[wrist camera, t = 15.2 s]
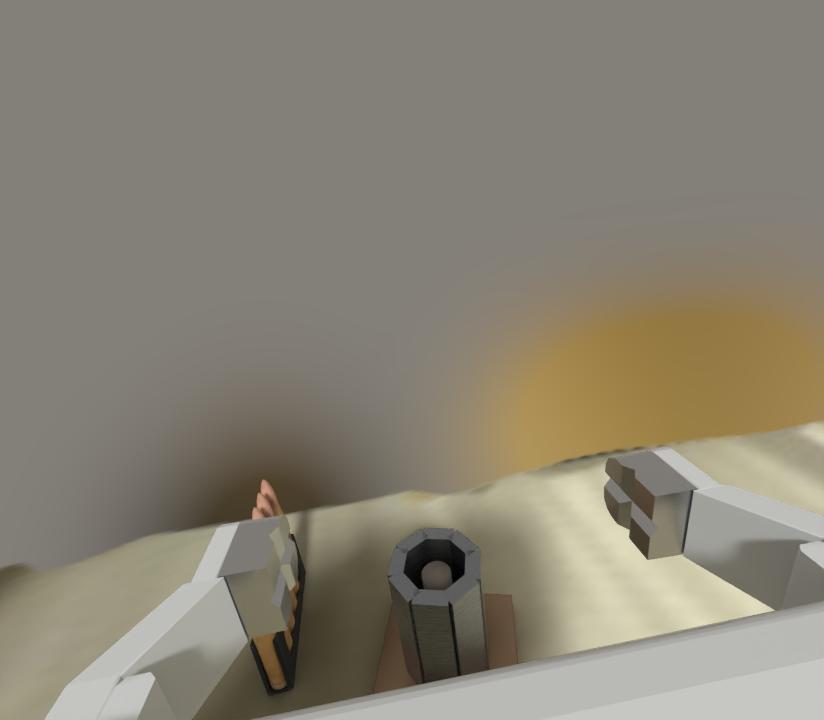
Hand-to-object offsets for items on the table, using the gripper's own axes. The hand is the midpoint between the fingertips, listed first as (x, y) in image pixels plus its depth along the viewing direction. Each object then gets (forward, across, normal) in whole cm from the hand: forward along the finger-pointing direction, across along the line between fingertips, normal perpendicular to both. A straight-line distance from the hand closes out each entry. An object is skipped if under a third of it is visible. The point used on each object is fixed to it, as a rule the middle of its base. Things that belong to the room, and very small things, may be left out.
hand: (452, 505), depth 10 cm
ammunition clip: (+18, -13, -25) cm, 33 cm away
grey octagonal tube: (+12, 0, -24) cm, 27 cm away
